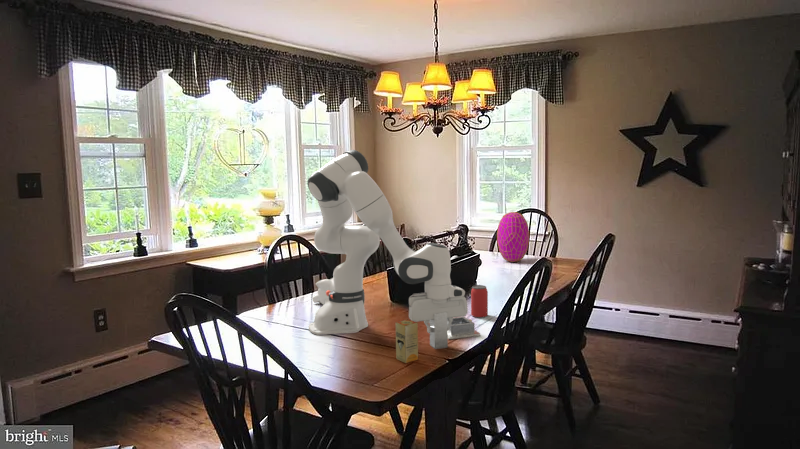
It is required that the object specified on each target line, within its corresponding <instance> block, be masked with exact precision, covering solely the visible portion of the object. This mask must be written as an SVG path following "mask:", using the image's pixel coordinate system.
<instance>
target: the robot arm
mask: <svg viewBox="0 0 800 449" xmlns="http://www.w3.org/2000/svg"><path fill="white" fill-rule="evenodd" d="M368 172H369V163H368V161H367V159H366V157H365V156H364V155H363V154H362V152H360V151H358V150H356V149H350V150H347V151H345V152H343V153H342V154H340V155H338V156H337V157H335V158H333V159H331V160H329V161H328V162H326V164H324V165H323V166H322V167H320V168H319V169H318V170H316V171H314V172H313V173H312V174H310V176H309V178H308V179H307V187H308V190H309V192H310V194H311V195H312V196H313V198H314V199H316V200H317V203H318V205H319V209H320V212H321V217H322V224H321V225H320V226H319V227H318V228H317V229H316V230H315V232H314V236H313V241H314V246H315V247H316V248H317V251H320V252H323V253H327V254H336V255H339V254H341V255H346V256H345V257H346V258H345V261H344V262H342V263H340V264H338V265H337V266H336V267H335V268H334V269H333V273H332V276H333V277H332V278H333V282H334V290H333V291H329V290H327V292H326V295H327V296H329V301H328V302H327V303H326V304H324V305H323V304H322V306H321V307H319V308H318V309H317V310H316V312H315V314H314V320H313V321H314V322H311V323H309V324H308V331H309V332H311V334H314V335H317V336H319V335H320V336H321V335H337V334H339V335H340V334H354V333H359V331H361V330H363V329H365V328H367V327H368V326H369V323H368V320H367V317H366V309H365V300H366V299H365V290H364V288H363V287H364V285H363V284H364V283H363V282H364V279H363V278H364V270H365V269H364V267H365V264H366V263H367V261H368V259H369V258H370V257H371V255H373V254H374V253H375V252H376V251H377V250H378V248H379V246H380V243H381V241H382V243H383V245H384V246H385V247H386V249H387V250H388V252H389V253H390V255H391V258H392V264H393V268H394V271H395V273H396V274H397V275H398V277H399V278H400V279H401V281H403V282H404V283H406V284H408V285H417V284H420V283H424V292H418V293H412V295H410V296H409V297H408V319H409V320H411V321H414V322H417V323H419V322H423V324H424V325H425V326H426V332H427V333H428V334H430V333H433V327H431V326H430V320H434V314H435V313H444V312H447V320H448V321H447V331H449V330H450V325H451V323H452V321H453V318H457V317H466V316H467V315H468V300H467V298H466V297H465V295H466V291H465V289H463V288H461V287H459V286H457V285H453V284H452V279H451V271H452V268H451V267H452V266H451V265H452V262H451V253H450V249H449V248H448V247H447V246H445V245H444V244H441V243H436V242H429V243H426V244H425V245H424V246H423V247H421V248H420V249H418V250H414V249H413V248H411V247H409V245H407V243H406V242H405V240H404V239H403V237H402V236H401V234H400V232H399V231H398V228H396V224H395V222H394V217H393V216H394V215H393V214H394V212H393V209H392V207H391V204H390V202H389V201H388V199H387V197H386V195H385V194H384V192H383V191H382V189H381V188H380V186H379V185H378V184H377V183H376V181H375V180H374V179H373V178H372V177H371V176H370V175H369V174H368ZM353 213H355V214H356V216H357V217H358V218H359V220H360V221H361V222H362V223H363V225H362V224H360V225H358V224H356V225H355V224H346V223H347V222H348V221H349V220H350V219H351V218H352V215H353ZM380 239H381V240H380Z"/></svg>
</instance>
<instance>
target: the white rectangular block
mask: <svg viewBox="0 0 800 449" xmlns="http://www.w3.org/2000/svg"><path fill="white" fill-rule="evenodd" d="M429 326H431V327H433V333H429V346H431V348H433V349H434V350H438V349H447V348H448V345H449V343H448V340H449V339H448V338H447V312H444V313H435V314H434V320H430V323H429Z"/></svg>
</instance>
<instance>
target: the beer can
mask: <svg viewBox="0 0 800 449" xmlns="http://www.w3.org/2000/svg"><path fill="white" fill-rule="evenodd" d="M488 293H489V292H488V289H487V286H486V285H482V284H477V285H472V287H471V292H470V295H471V296H470V309H471V310H470V315H471V316H472V317H474V318H478V319H482V318H487V317H488V314H489V312H488V308H489V307H488V306H489V302H488V301H489V299H488V296H489V295H488Z"/></svg>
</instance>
